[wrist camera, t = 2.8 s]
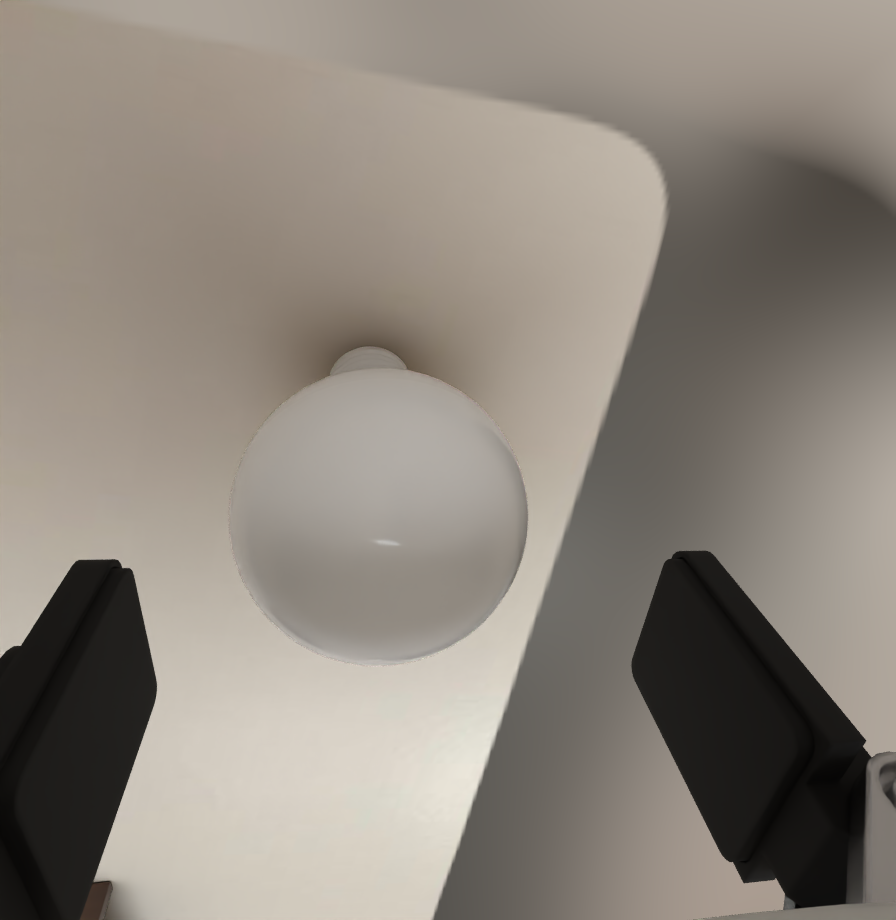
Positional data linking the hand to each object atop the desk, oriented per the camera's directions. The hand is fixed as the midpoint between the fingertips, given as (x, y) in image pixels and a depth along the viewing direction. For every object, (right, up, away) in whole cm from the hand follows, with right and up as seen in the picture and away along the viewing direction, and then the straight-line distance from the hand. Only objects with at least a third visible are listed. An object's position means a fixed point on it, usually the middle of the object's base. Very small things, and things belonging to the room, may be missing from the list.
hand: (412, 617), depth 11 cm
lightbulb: (-2, +6, +9) cm, 11 cm away
